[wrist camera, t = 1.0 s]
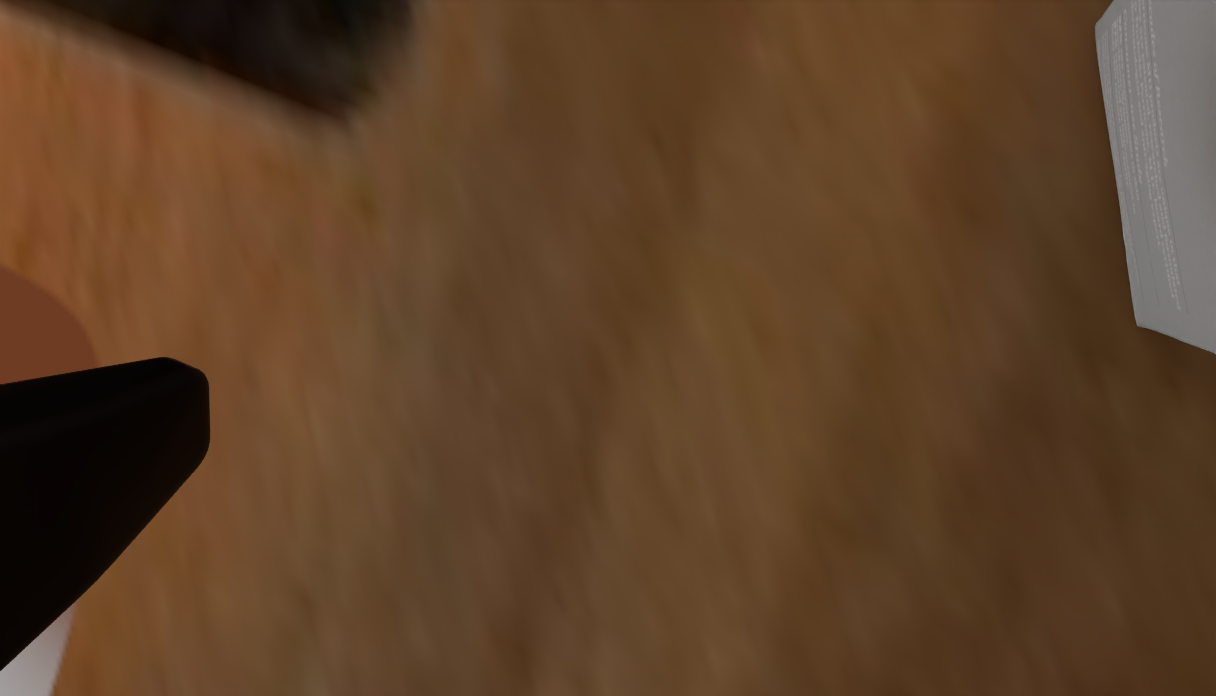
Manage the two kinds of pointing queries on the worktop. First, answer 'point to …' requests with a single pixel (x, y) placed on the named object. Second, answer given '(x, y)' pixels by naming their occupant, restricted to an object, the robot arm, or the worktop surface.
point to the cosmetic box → (1165, 157)
